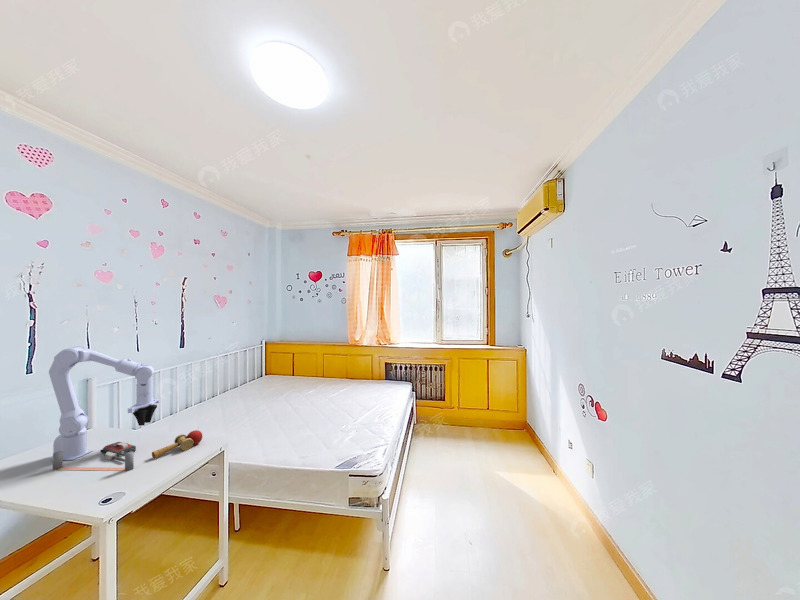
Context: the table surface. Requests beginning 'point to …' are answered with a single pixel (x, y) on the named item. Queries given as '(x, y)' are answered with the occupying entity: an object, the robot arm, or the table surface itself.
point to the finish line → (58, 466)
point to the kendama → (180, 443)
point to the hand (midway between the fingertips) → (144, 423)
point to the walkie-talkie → (117, 450)
